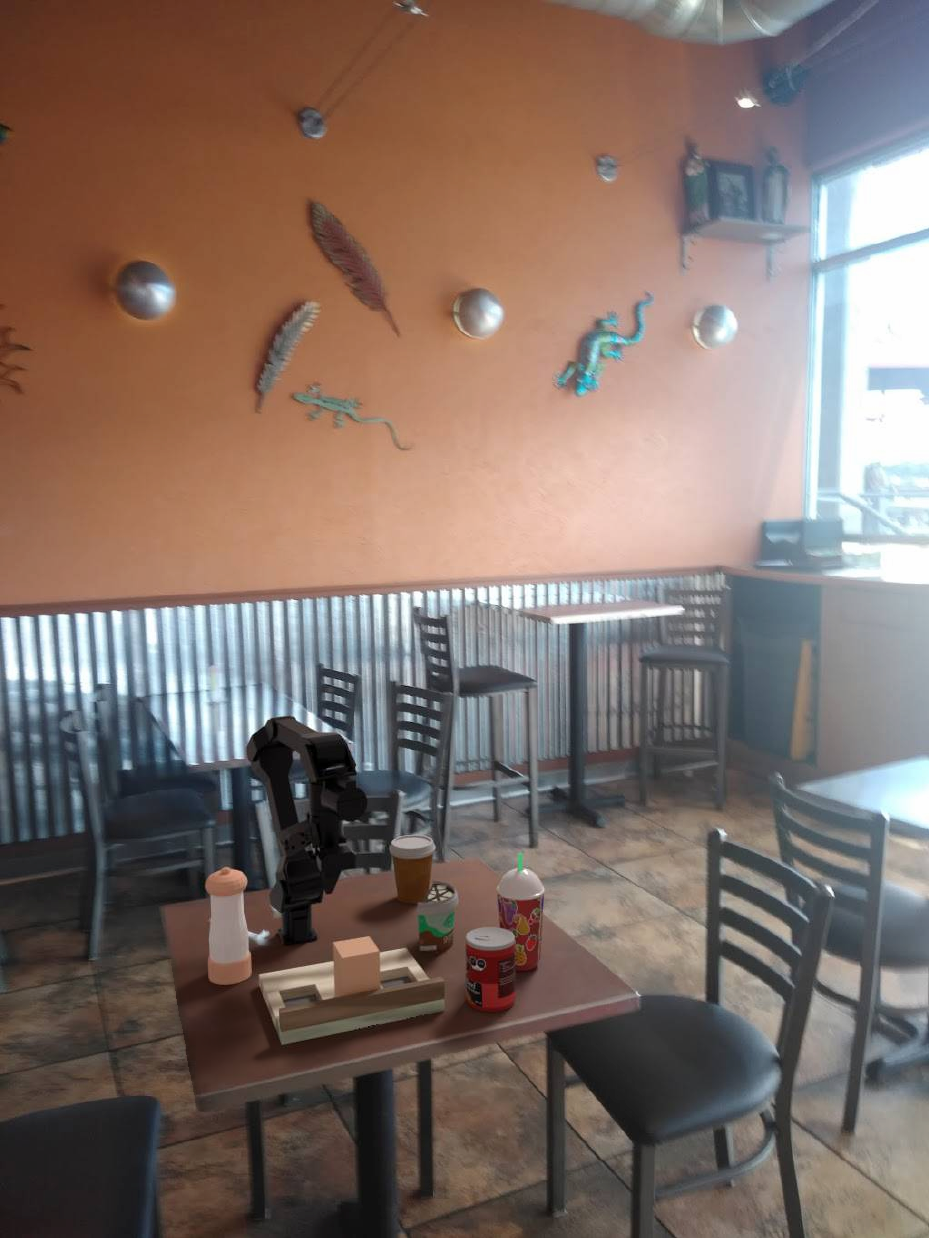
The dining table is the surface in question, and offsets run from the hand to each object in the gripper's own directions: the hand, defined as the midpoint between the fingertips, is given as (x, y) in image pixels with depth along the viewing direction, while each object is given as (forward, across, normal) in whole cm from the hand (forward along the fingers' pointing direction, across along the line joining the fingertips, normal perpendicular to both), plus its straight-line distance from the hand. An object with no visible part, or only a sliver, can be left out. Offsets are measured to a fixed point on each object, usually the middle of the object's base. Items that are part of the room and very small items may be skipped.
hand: (328, 893), depth 170 cm
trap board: (+13, +13, 0) cm, 18 cm away
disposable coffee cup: (+13, -23, +23) cm, 35 cm away
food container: (+13, 0, +21) cm, 25 cm away
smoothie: (+13, +13, +31) cm, 36 cm away
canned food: (+13, +23, +21) cm, 34 cm away
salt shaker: (+13, -3, -17) cm, 22 cm away
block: (+11, +18, 0) cm, 21 cm away
